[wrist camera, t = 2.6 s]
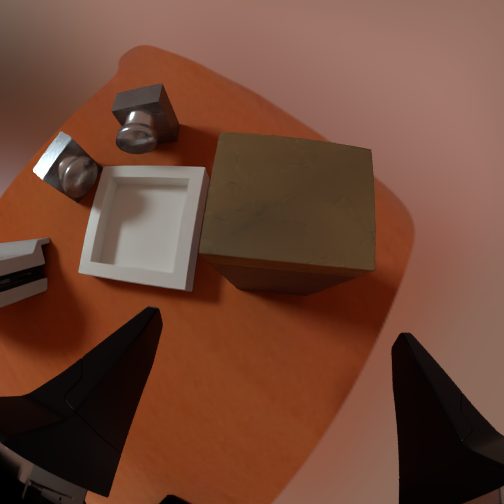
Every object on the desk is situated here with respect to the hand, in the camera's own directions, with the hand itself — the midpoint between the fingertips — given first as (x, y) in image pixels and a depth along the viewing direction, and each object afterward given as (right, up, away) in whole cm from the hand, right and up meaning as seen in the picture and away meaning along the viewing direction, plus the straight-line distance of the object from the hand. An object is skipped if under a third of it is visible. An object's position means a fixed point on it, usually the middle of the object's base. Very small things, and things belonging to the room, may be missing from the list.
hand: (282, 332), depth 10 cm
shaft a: (-10, +13, +14) cm, 21 cm away
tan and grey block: (+1, +2, +11) cm, 11 cm away
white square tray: (-9, +5, +12) cm, 16 cm away
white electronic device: (-28, 0, +12) cm, 31 cm away
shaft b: (-16, +9, +13) cm, 23 cm away
